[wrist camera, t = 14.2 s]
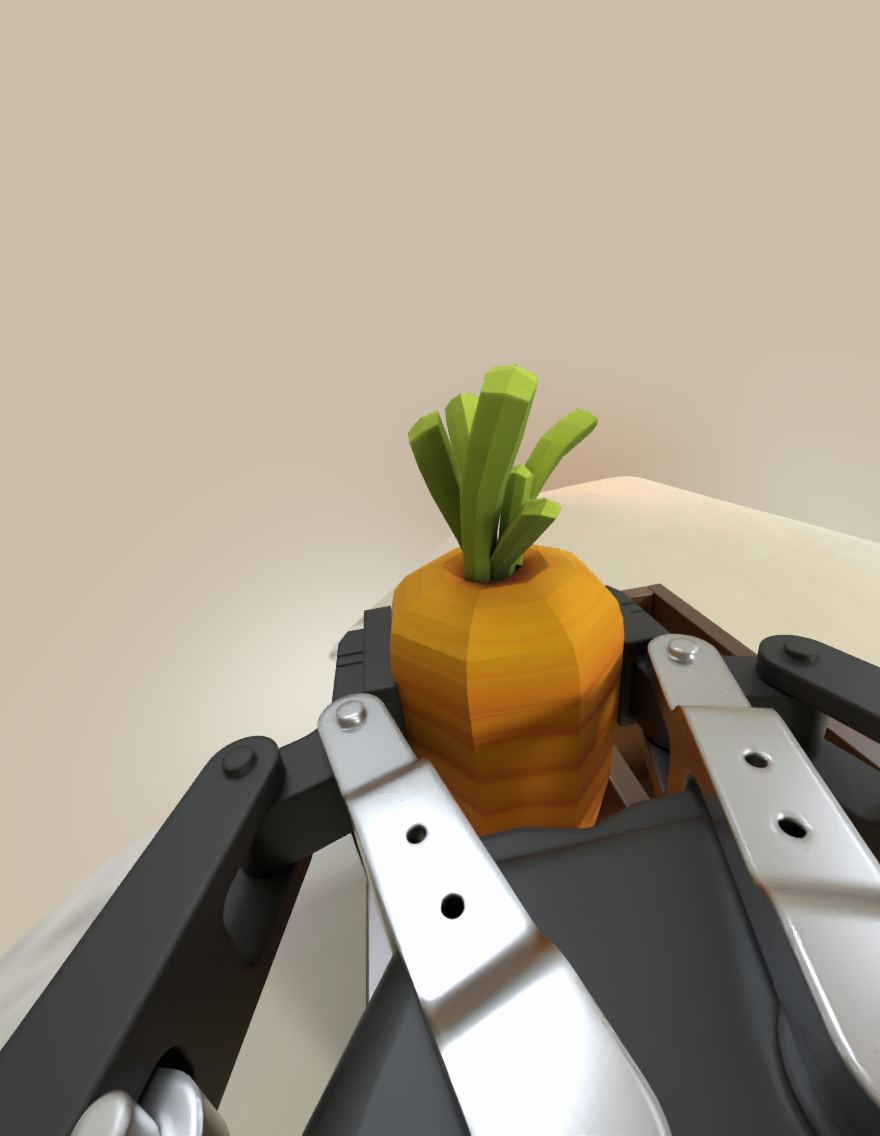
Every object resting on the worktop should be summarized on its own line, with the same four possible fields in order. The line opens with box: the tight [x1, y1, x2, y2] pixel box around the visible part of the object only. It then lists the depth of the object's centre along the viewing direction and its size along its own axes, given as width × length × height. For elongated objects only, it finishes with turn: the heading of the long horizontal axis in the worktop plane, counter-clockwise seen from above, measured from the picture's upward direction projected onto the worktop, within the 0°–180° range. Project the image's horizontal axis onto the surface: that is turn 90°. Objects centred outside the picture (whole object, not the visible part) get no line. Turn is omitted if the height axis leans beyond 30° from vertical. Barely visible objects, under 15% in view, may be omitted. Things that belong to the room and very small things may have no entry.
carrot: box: [390, 365, 624, 837], centre depth 11 cm, size 5×5×15 cm
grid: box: [366, 584, 880, 1007], centre depth 17 cm, size 15×15×4 cm
